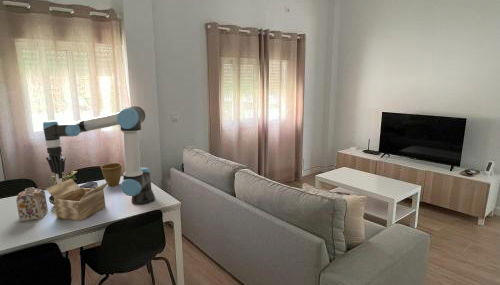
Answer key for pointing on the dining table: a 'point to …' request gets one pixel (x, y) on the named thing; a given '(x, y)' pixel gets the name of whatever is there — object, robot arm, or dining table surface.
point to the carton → (79, 204)
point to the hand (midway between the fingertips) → (59, 183)
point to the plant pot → (112, 173)
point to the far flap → (62, 188)
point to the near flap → (94, 191)
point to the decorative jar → (31, 204)
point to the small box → (89, 185)
